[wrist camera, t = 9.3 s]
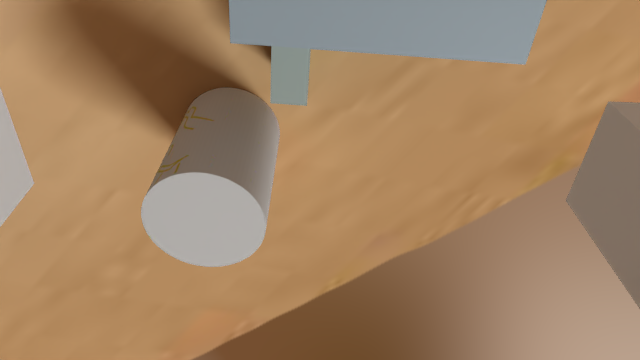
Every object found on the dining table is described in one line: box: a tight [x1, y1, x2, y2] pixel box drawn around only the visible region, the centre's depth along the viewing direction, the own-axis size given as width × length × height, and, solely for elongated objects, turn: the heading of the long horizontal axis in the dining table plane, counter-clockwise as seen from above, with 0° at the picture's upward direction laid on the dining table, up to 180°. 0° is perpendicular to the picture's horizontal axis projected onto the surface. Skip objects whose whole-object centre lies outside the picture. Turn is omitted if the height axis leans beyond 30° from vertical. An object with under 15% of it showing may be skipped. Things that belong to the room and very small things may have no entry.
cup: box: [141, 88, 280, 267], centre depth 37 cm, size 8×8×12 cm
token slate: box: [271, 46, 310, 106], centre depth 35 cm, size 2×6×6 cm, turn 176°
